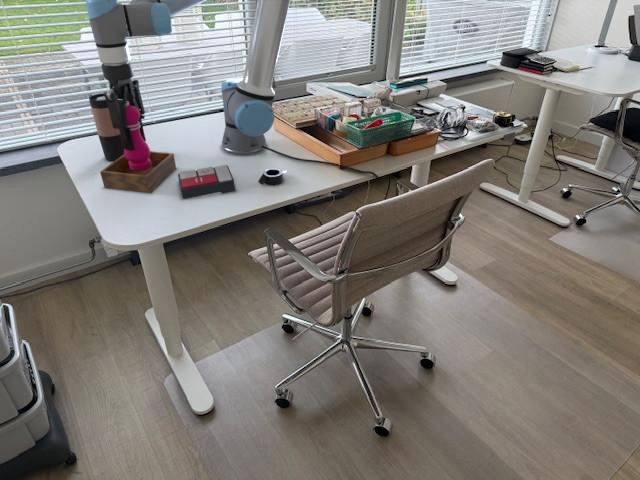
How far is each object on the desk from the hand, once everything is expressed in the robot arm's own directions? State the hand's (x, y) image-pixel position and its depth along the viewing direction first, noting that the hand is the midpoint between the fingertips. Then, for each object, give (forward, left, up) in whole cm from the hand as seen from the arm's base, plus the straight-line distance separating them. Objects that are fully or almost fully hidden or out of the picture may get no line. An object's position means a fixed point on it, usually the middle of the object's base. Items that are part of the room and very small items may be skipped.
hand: (135, 145), depth 134 cm
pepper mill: (0, 0, -7) cm, 7 cm away
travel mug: (+16, -12, -11) cm, 22 cm away
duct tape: (-39, -7, -11) cm, 41 cm away
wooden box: (0, 0, -11) cm, 11 cm away
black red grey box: (-21, +1, -11) cm, 24 cm away
